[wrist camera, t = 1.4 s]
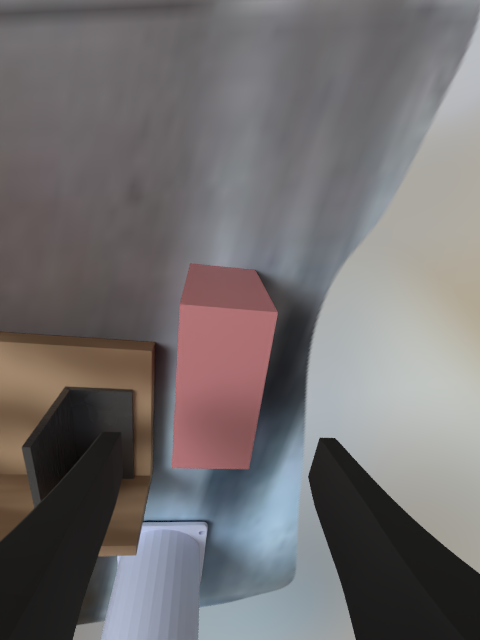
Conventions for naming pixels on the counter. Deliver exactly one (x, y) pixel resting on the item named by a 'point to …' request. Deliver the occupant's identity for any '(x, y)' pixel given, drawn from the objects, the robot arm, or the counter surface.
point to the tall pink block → (220, 366)
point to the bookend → (77, 434)
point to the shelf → (40, 393)
